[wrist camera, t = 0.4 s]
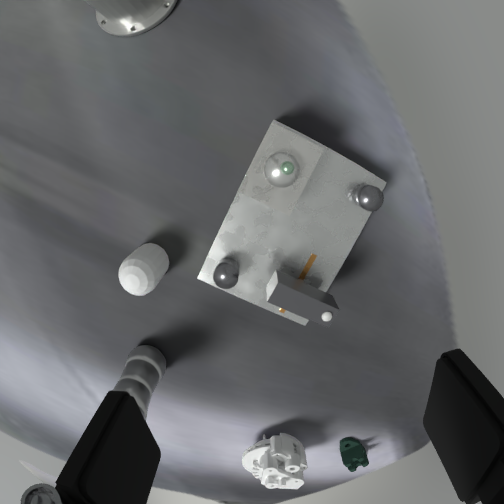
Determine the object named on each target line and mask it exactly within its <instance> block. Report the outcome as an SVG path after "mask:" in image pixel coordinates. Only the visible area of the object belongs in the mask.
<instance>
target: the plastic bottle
mask: <svg viewBox="0 0 504 504" xmlns="http://www.w3.org/2000/svg"><path fill="white" fill-rule="evenodd" d="M165 370H166V360H165V357H164V356H163V354H162V353H161V352H160V351H159V350H158V349H157V348H155V347H153V346H150V345H141V346H138V347H136V348H134V349H133V350H132V351H131V352H130V354H129V355H128V358H127V360H126V363H125V368H124V370H123V373H122V375H121V378H120V380H119V381H118V383H117V384H116V386H115V387H114V389H113V390H112V391H126V392H128V393H129V394H130V396H133V397H134V398H135V400H136V402H137V404H138V406H139V409H140V411H141V413H142V415H143V417H144V419H145V421H146V417H147V411H148V406H149V403H150V399H151V396H152V393H153V392H154V390H155V388H156V386H157V384H158V383H159V382H160V380H161V379H162V377H163V376H164V374H165Z"/></svg>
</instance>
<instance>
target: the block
mask: <svg viewBox="0 0 504 504" xmlns="http://www.w3.org/2000/svg"><path fill="white" fill-rule="evenodd" d="M266 293H267V302H268V303H271V304H273V305H275V306H277V307H280V308H282V309H284V310H287V311H289V312H291V313H294V314H296V315H298V316H301V317H303V318H306V319H308V320H310V321H313V322H315V323H317V324H320V325H322V326H325V327H327V328H328V327H329V326H330V324H331V323H332V321H333V320H334V318H335V317H336V315H337V313H338V312H339V308H338V306H337V304H336V302H335V300H334V298H333V296H332V295H330V294H328V293H326V292H324V291H322V290H320V289H317V288H315V287H313V286H311V285H309V284H307V283H305V281H304V280H302V279H296V278H294V277H291V276H289V275H287V274H285V273H283V272H281V271H278V270H275V272H274V274H273V276H272V278H271V279H270V281H269V283H268V285H267V287H266Z"/></svg>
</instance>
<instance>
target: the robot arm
mask: <svg viewBox="0 0 504 504" xmlns="http://www.w3.org/2000/svg"><path fill="white" fill-rule="evenodd" d="M84 1H85V2H86V3H88V4H89V5H90V6H92V7H93V8H94V9H95V10H96V18H97V22H98V24H99V26H100V27H101V28H102V29H103V30H104V31H106V32H107V33H109V34H111V35H114V36H118V37H129V36H135V35H138V34H142V33H144V32H146V31H148V30H150V29H152V28H154V27H155V26H157V25H158V24H159V23H161V22H162V21H163V20H164V19H165V18H166V17H167V16H168V15H169V14H170V12H171V11H172V10H173V8H174V6H175V4H176V2H177V0H84ZM167 7H168V8H167ZM134 30H135V31H134ZM423 424H424V428H425V430H426V432H427V434H428V436H429V438H430V439H431V441H432V443H433V445H434V447H435V449H436V451H437V453H438V455H439V457H440V459H441V461H442V464H443V465H444V467H445V470H446V472H447V474H448V476H449V478H450V480H451V482H452V485H453V487H454V489H455V491H456V493H457V495H458V498H459V499H460V500H461V501H462V502H463V501H465V503H466V504H475V503H477V502H479V501H481V502H482V504H504V398H503V397H502V396H501V394H500V393H499V392H498V391H497V390H496V389H495V387H494V386H493V385H492V384H491V383H490V381H489V380H488V379H487V378H486V377H485V376H484V375H483V373H482V372H481V371H480V370H479V369H478V368H477V367H476V366H475V364H474V363H473V362H472V361H471V360H470V359H469V358H468V357H467V356H466V354H465V353H464V352H463V351H462V350H461V349H455V350H451V351H448V352H445V353H443V354H442V355H441V358H440V359H438V360H437V362H436V367H435V372H434V377H433V382H432V386H431V390H430V395H429V399H428V403H427V407H426V410H425V414H424V418H423ZM160 458H161V452H160V449H159V447H158V445H157V443H156V441H155V439H154V437H153V435H152V433H151V431H150V429H149V427H148V425H147V423H146V421H145V419H144V417H143V415H142V413H141V411H140V409H139V406H138V404H137V402H136V400H135V398H134V397H133V396H130V394H129V393H128V392H126V391H109V392H108V393H107V395H106V396H105V398H104V400H103V401H102V403H101V405H100V406H99V408H98V410H97V411H96V413H95V415H94V416H93V418H92V420H91V421H90V423H89V425H88V426H87V428H86V430H85V431H84V433H83V435H82V436H81V438H80V440H79V442H78V443H77V445H76V447H75V449H74V450H73V452H72V454H71V456H70V457H69V459H68V461H67V463H66V464H65V466H64V468H63V470H62V472H61V474H60V475H59V477H58V479H57V481H56V482H55V483H56V484H57V485H56V487H55V488H54V487H53V486H50V485H48V484H42V483H41V484H36V485H33V486H31V487H29V488H28V489H27V490H26V491H25V492H24V494H23V495H22V498H21V504H146V503H147V500H148V496H149V493H150V490H151V487H152V484H153V480H154V477H155V474H156V471H157V468H158V464H159V461H160Z"/></svg>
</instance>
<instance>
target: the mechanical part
mask: <svg viewBox="0 0 504 504" xmlns="http://www.w3.org/2000/svg"><path fill="white" fill-rule="evenodd" d="M295 447H296V448H295ZM242 464H243V466H244V468H245V469H246V470H248V471H249V472H251V473H252V474H253V475H255V476H254V477H255V478H260V480H261V484H263V485H265V486H266V487H267V488H270V489H273V488H281V489H283V488H287V489H298V488H299V487H300V486H302V485H303V484H304V476H303V470H305V469H307V462H306V454H305V449H304V447H303V445H302V443H301V442H300V441H299V440H297V439H296V438H295V437H293V436H291V435H289V434H286V433H280V435H273V436H272V437H271V438H270V439H266V435H263V440H261V441H259V442H257V443H255V444H254V445H253V446H251V447H249V448H248V449H246V450H245V452H244V453H243V455H242ZM291 473H292V474H291Z"/></svg>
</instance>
